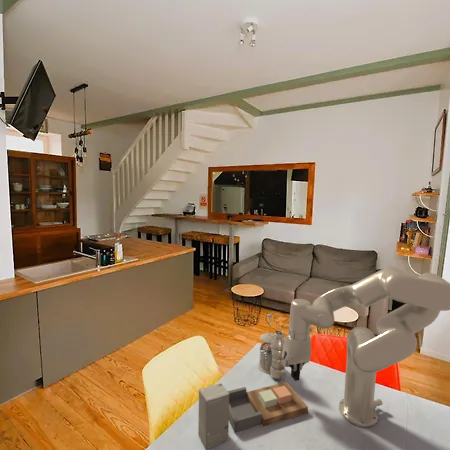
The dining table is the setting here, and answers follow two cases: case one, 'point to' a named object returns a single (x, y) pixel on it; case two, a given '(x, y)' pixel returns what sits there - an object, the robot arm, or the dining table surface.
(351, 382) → the robot arm
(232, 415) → the box
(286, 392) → the tile
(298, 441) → the dining table surface
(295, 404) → the walnut plate
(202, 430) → the skincare box
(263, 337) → the french press
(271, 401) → the tile
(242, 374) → the dining table surface
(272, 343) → the metal bottle
